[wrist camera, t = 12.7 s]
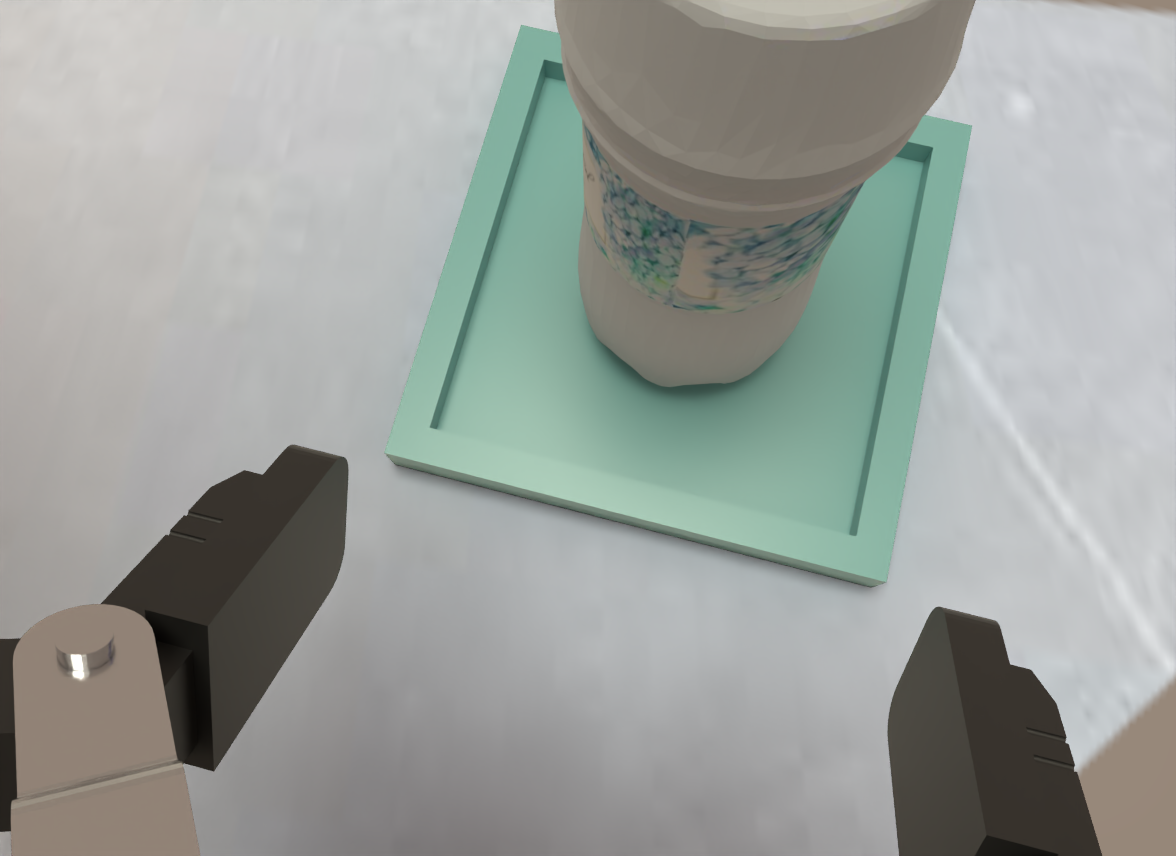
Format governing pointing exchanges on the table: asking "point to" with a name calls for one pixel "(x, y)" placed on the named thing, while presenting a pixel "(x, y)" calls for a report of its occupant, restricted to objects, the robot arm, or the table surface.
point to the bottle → (733, 159)
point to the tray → (689, 412)
